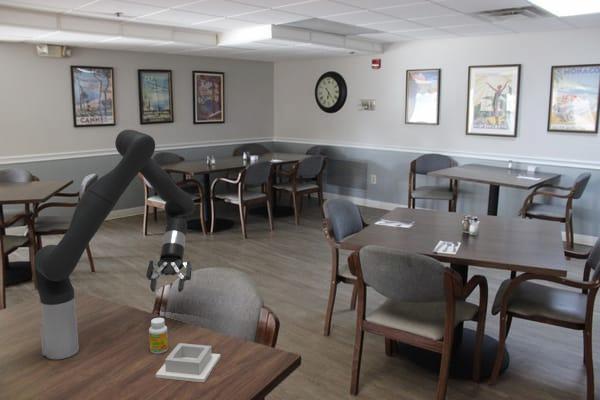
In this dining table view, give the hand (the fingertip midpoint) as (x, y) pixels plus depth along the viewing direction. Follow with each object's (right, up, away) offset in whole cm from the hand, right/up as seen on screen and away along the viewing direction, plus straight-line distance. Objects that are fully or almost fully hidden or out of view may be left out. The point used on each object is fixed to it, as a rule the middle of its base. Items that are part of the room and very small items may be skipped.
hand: (166, 291), depth 165 cm
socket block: (+11, -19, -18) cm, 28 cm away
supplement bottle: (0, -17, -8) cm, 19 cm away
